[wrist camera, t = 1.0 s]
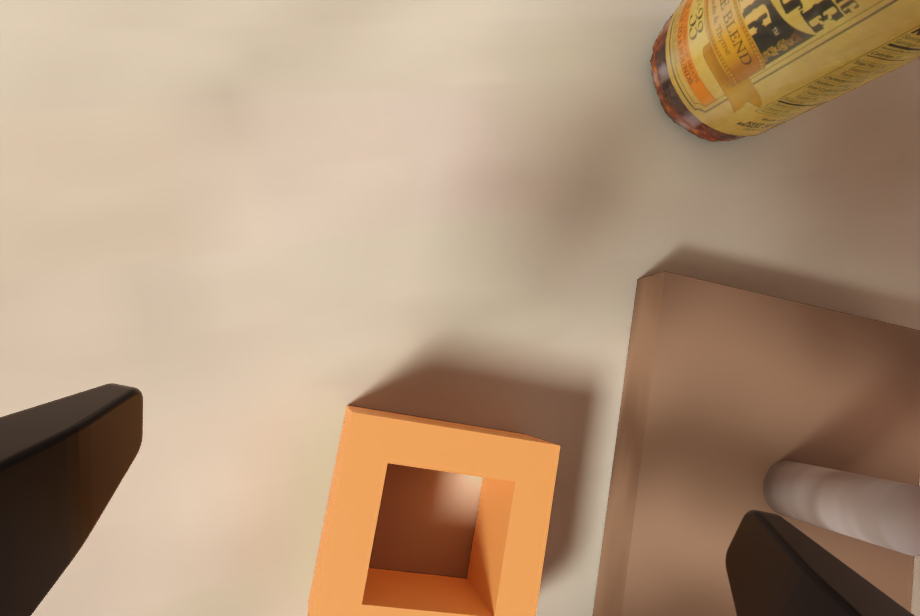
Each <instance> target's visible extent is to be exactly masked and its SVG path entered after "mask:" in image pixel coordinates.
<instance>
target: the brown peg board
mask: <svg viewBox="0 0 920 616" xmlns="http://www.w3.org/2000/svg"><path fill="white" fill-rule="evenodd" d="M919 477H920V330H915V329H911V328H907V327H902V326H898V325H894V324H889V323H885V322H881V321H876V320H872V319H868V318H864V317H859V316H855V315H851V314H846V313H842V312H838V311H833V310H829V309H825V308H820V307H816V306H812V305H807V304H803V303H799V302H794V301H790V300H786V299H781V298H777V297H773V296H768V295H764V294H760V293H756V292H751V291H747V290H743V289H738V288H734V287H730V286H725V285H721V284H717V283H712V282H708V281H704V280H699V279H695V278H691V277H686V276H682V275H678V274H673V273H669V272H662V273H659V274H655V275H651V276H648V277H644V278H641V279H638V281H637V288H636V296H635V303H634V311H633V318H632V326H631V333H630V341H629V348H628V356H627V363H626V371H625V378H624V386H623V393H622V401H621V408H620V416H619V423H618V431H617V438H616V446H615V453H614V461H613V468H612V476H611V483H610V491H609V498H608V506H607V513H606V521H605V528H604V536H603V543H602V551H601V558H600V566H599V573H598V581H597V588H596V596H595V603H594V611H593V616H737V615H736V611H735V606H734V602H733V597H732V593H731V589H730V584H729V580H728V575H727V571H726V564H725V559H726V553H727V549H728V547H729V545H730V543H731V541H732V539H733V537H734V535H735V533H736V531H737V528H738V526H739V524H740V522H741V520H742V518H743V516H744V515H745V514H746V513H747V512H748V511H750V510H759V511H764V512H769V513H774V514H777V515H780V516H781V517H783V518H784V519H785V520H787V521H788V522H789V523H791V524H792V525H793V526H795V527H796V528H797V529H799V530H800V531H801V532H803V533H804V534H805V535H807V536H808V537H809V538H811V539H812V540H814V541H815V542H816V543H818V544H819V545H820V546H822V547H823V548H824V549H826V550H827V551H828V552H830V553H831V554H832V555H834V556H835V557H836V558H838V559H839V560H840V561H842V562H843V563H845V564H846V565H847V566H849V567H850V568H851V569H853V570H854V571H855V572H857V573H858V574H859V575H861V576H862V577H863V578H865V579H866V580H867V581H869V582H870V583H871V584H873V585H874V586H875V587H877V588H878V589H880V590H881V591H882V592H884V593H885V594H886V595H888V596H889V597H890V598H892V599H893V600H894V601H896V602H897V603H898V604H900V605H901V606H902V607H904V608H905V609H906V610H908V611H909V612H910V613H911V600H912V584H913V569H914V556H918V555H920V486H919Z"/></svg>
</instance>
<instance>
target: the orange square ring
mask: <svg viewBox="0 0 920 616" xmlns="http://www.w3.org/2000/svg"><path fill="white" fill-rule="evenodd" d="M559 453H560V445H557V444H554V443H551V442H548V441H544V440H541V439H538V438H535V437H532V436H529V435H525V434H520V433H514V432H508V431H502V430H496V429H489V428H483V427H477V426H471V425H465V424H459V423H453V422H446V421H440V420H434V419H428V418H422V417H416V416H410V415H403V414H397V413H391V412H385V411H379V410H373V409H367V408H360V407H354V406H348V405H347V408H346V413H345V418H344V423H343V428H342V434H341V439H340V444H339V449H338V454H337V459H336V464H335V469H334V475H333V480H332V485H331V490H330V495H329V500H328V505H327V511H326V516H325V521H324V526H323V531H322V536H321V541H320V547H319V552H318V557H317V562H316V567H315V572H314V577H313V583H312V588H311V593H310V598H309V606H308V616H536V611H537V604H538V597H539V590H540V583H541V577H542V570H543V563H544V556H545V549H546V542H547V535H548V528H549V522H550V515H551V508H552V501H553V494H554V487H555V480H556V473H557V467H558V460H559ZM388 463H390V464H397V465H403V466H410V467H417V468H424V469H431V470H438V471H445V472H452V473H458V474H465V475H472V476H479V477H483V482H482V488H481V494H480V501H479V507H478V513H477V519H476V525H475V532H474V538H473V544H472V550H471V556H470V563H469V569H468V575H467V579H466V578H457V577H448V576H439V575H430V574H421V573H411V572H402V571H393V570H384V569H375V568H369V562H370V557H371V551H372V546H373V540H374V535H375V530H376V524H377V519H378V513H379V508H380V502H381V497H382V491H383V486H384V480H385V475H386V469H387V464H388Z"/></svg>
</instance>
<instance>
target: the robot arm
mask: <svg viewBox="0 0 920 616" xmlns="http://www.w3.org/2000/svg"><path fill="white" fill-rule="evenodd" d="M142 433H143V396H142V393H141V391H140V390H139V389H137V388H134V387H129V386H124V385H119V384H106V385H103V386H100V387H97V388H93V389H90V390H87V391H84V392H80V393H77V394H74V395H71V396H68V397H64V398H61V399H58V400H55V401H52V402H48V403H45V404H42V405H39V406H36V407H32V408H29V409H26V410H23V411H20V412H16V413H13V414H10V415H7V416H4V417H0V616H31V615H32V613H33V612H34V611H35V609H36V608H37V607H38V605H39V604H40V603H41V601H42V600H43V599H44V597H45V596H46V595H47V593H48V592H49V591H50V589H51V588H52V587H53V585H54V584H55V583H56V581H57V580H58V578H59V577H60V576H61V574H62V573H63V572H64V570H65V569H66V568H67V566H68V565H69V564H70V562H71V561H72V560H73V558H74V557H75V555H76V554H77V553H78V551H79V550H80V548H81V547H82V546H83V544H84V542H85V541H86V539H87V538H88V536H89V534H90V533H91V531H92V530H93V528H94V526H95V525H96V523H97V521H98V520H99V518H100V516H101V514H102V513H103V511H104V509H105V508H106V506H107V504H108V503H109V501H110V499H111V498H112V496H113V494H114V492H115V491H116V489H117V487H118V486H119V484H120V482H121V481H122V479H123V477H124V476H125V474H126V472H127V471H128V469H129V467H130V465H131V464H132V462H133V460H134V459H135V457H136V455H137V453H138V451H139V449H140V446H141V442H142ZM725 564H726V571H727V575H728V580H729V584H730V589H731V593H732V597H733V602H734V606H735V611H736V615H737V616H915V615H913V614H912V613H910V612H909V611H908V610H906V609H905V608H904V607H902V606H901V605H900V604H898V603H897V602H896V601H894V600H893V599H892V598H890V597H889V596H888V595H886V594H885V593H884V592H882V591H881V590H880V589H878V588H877V587H875V586H874V585H873V584H871V583H870V582H869V581H867V580H866V579H865V578H863V577H862V576H861V575H859V574H858V573H857V572H855V571H854V570H853V569H851V568H850V567H849V566H847V565H846V564H845V563H843V562H842V561H840V560H839V559H838V558H836V557H835V556H834V555H832V554H831V553H830V552H828V551H827V550H826V549H824V548H823V547H822V546H820V545H819V544H818V543H816V542H815V541H814V540H812V539H811V538H809V537H808V536H807V535H805V534H804V533H803V532H801V531H800V530H799V529H797V528H796V527H795V526H793V525H792V524H791V523H789V522H788V521H787V520H785V519H784V518H783V517H781V516H780V515H777V514H774V513H769V512H764V511H759V510H750V511H748V512H747V513H746V514H745V515H744V516H743V518H742V520H741V522H740V524H739V526H738V528H737V531H736V533H735V535H734V537H733V539H732V541H731V543H730V545H729V547H728V549H727V553H726V559H725Z"/></svg>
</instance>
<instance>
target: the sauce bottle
mask: <svg viewBox="0 0 920 616" xmlns="http://www.w3.org/2000/svg"><path fill="white" fill-rule="evenodd" d="M919 57H920V0H683V1H682V2H681V3H680V5H679V6H678V8H677V9H676V11H675V12H674V14H673V15H672V16H671V17H670V19H669V20H668V21H667V22H666V23H665V25H664V27H663V29H662V31H661V32H660V34H659V36H658V38H657V39H656V41H655V44H654V46H653V55H652V58H651V66H652V76H653V80H654V85H655V88H656V89H657V94H658V95H659V97H660V101H661V105H662V106H663V108H664V110H665V112H666V114H667V115H668V116H669V117H670V118H671V119H672V120H673V122H675V123H677V124H679V125H681V126H683V127H685V128H686V129H687V130H688V131H689V132H691V133H693V134H695V135H696V136H698V137H700V138H703V139H706V140H709V141H730V140H734V139H738V138H741V137H745V136H753V135H757V134H759V133H762V132H764V131H766V130H769V129H771V128H773V127H775V126H777V125H779V124H781V123H783V122H786V121H788V120H790V119H792V118H794V117H796V116H798V115H800V114H802V113H804V112H806V111H808V110H811V109H813V108H815V107H817V106H819V105H821V104H823V103H825V102H827V101H829V100H832V99H834V98H836V97H838V96H840V95H842V94H845V93H847V92H849V91H851V90H853V89H855V88H857V87H859V86H861V85H863V84H865V83H868V82H870V81H872V80H874V79H876V78H878V77H880V76H882V75H884V74H886V73H888V72H890V71H892V70H894V69H896V68H898V67H900V66H902V65H904V64H907V63H909V62H911V61H913V60H915V59H917V58H919Z"/></svg>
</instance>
